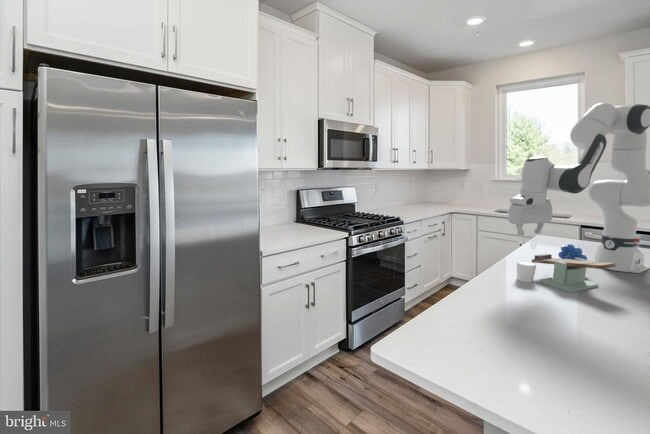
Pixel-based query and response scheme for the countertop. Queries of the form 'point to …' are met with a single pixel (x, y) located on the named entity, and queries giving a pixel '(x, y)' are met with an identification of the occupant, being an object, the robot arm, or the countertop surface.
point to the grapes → (571, 253)
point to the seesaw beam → (572, 262)
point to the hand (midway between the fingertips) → (529, 234)
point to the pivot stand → (569, 277)
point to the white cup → (525, 271)
